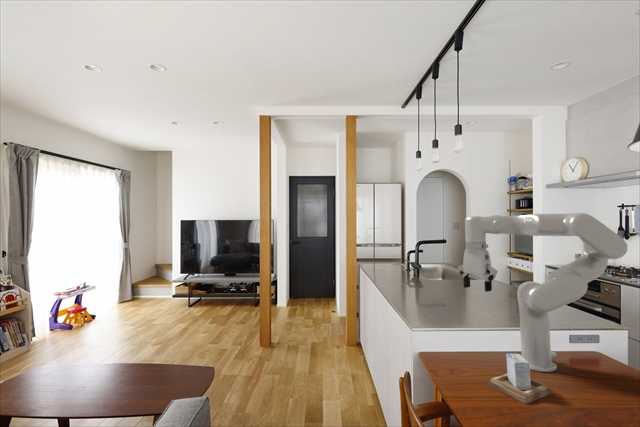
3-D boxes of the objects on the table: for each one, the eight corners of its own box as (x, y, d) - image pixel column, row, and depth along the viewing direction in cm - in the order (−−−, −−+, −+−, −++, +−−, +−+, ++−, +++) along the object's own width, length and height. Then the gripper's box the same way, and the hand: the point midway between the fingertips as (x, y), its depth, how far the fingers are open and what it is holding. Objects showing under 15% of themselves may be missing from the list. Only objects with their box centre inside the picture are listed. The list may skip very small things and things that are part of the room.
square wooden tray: (513, 377, 115) (513, 370, 115) (551, 393, 104) (551, 385, 104) (488, 386, 109) (487, 378, 110) (525, 403, 98) (524, 395, 98)
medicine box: (531, 391, 103) (530, 363, 103) (515, 390, 103) (514, 362, 104) (521, 379, 110) (520, 353, 111) (507, 378, 111) (505, 352, 112)
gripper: (501, 247, 127) (503, 291, 126) (464, 245, 142) (465, 285, 141) (489, 248, 123) (490, 293, 123) (451, 246, 139) (453, 286, 138)
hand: (477, 289), depth 132 cm, fingers open, 9 cm apart
